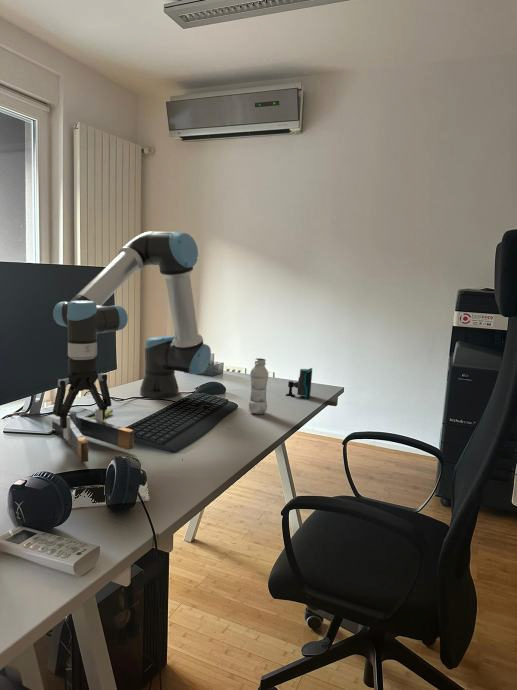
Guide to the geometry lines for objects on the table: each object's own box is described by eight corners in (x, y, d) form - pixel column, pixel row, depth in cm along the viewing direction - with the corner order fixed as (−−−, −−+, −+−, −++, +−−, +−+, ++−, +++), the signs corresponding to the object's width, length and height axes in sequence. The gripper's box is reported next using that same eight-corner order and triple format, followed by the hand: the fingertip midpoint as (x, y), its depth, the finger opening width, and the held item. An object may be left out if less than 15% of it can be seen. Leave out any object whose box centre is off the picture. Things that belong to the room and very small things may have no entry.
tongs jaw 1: (64, 435, 138) (63, 418, 137) (70, 434, 139) (70, 417, 138) (81, 462, 120) (80, 443, 120) (88, 461, 121) (88, 442, 121)
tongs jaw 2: (75, 433, 140) (75, 416, 139) (80, 431, 141) (80, 415, 141) (128, 450, 130) (128, 432, 129) (133, 448, 131) (133, 430, 131)
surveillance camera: (288, 365, 199) (312, 367, 198) (286, 393, 201) (310, 395, 200) (287, 368, 193) (311, 370, 192) (285, 397, 195) (309, 399, 194)
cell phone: (149, 503, 106) (149, 499, 106) (63, 511, 101) (63, 507, 101) (146, 485, 114) (146, 481, 114) (66, 492, 109) (66, 488, 109)
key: (113, 414, 164) (113, 408, 163) (104, 427, 152) (104, 420, 151) (92, 414, 163) (92, 408, 163) (81, 426, 151) (81, 420, 151)
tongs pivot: (50, 430, 145) (49, 408, 144) (64, 427, 148) (64, 405, 147) (65, 439, 138) (64, 416, 137) (79, 436, 142) (79, 413, 140)
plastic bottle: (264, 417, 169) (268, 362, 165) (246, 414, 170) (249, 360, 167) (268, 411, 175) (271, 358, 171) (250, 409, 176) (253, 356, 173)
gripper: (49, 364, 121) (51, 448, 124) (124, 355, 136) (124, 430, 140) (36, 358, 126) (39, 439, 129) (111, 351, 141) (111, 423, 145)
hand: (83, 434), depth 135 cm, fingers open, 9 cm apart
